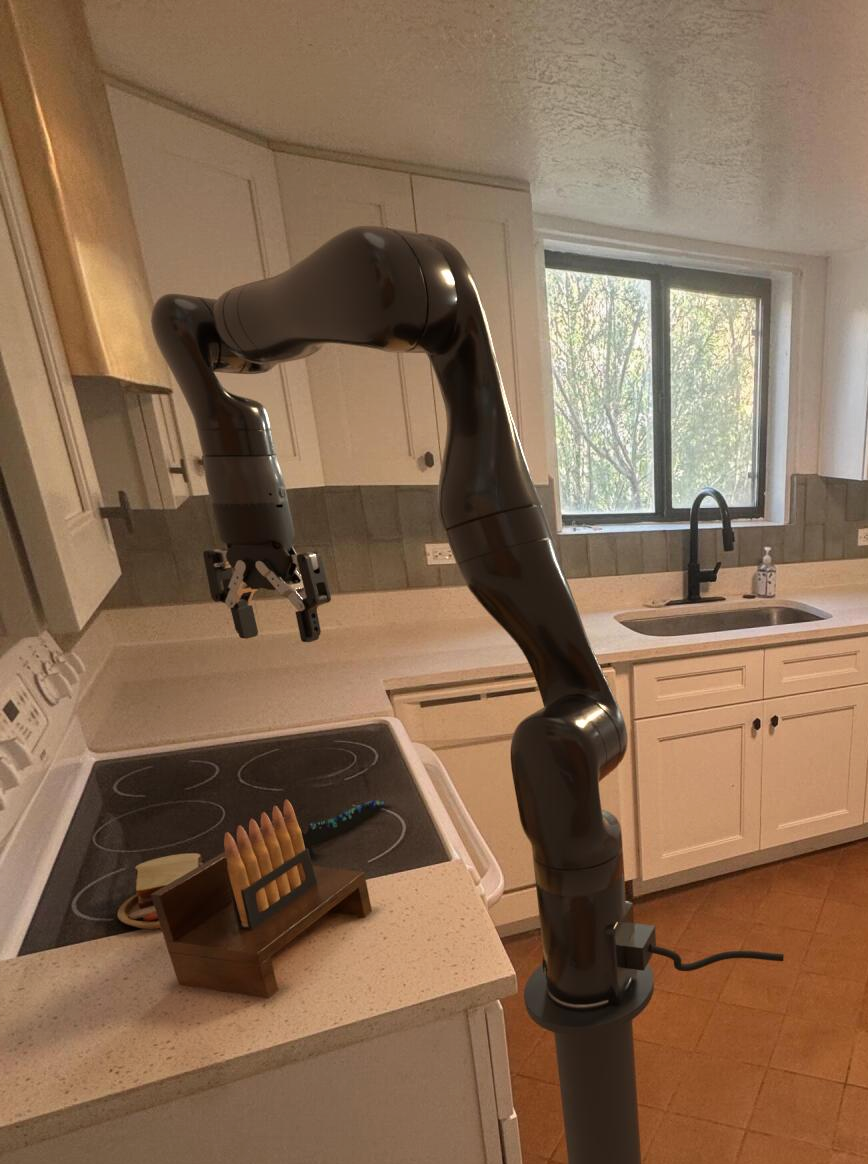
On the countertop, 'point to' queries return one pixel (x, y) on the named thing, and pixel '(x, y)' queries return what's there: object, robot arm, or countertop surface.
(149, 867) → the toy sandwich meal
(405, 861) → the countertop surface
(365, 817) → the knife
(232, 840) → the ammunition clip
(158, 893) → the wooden bench
